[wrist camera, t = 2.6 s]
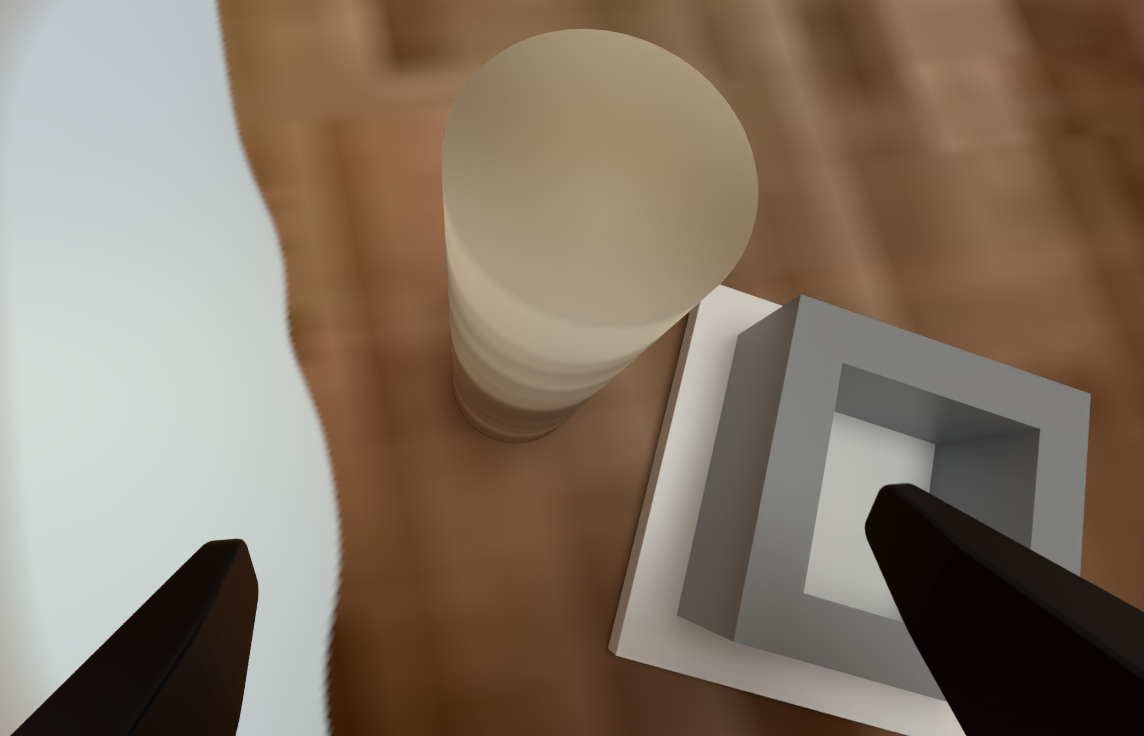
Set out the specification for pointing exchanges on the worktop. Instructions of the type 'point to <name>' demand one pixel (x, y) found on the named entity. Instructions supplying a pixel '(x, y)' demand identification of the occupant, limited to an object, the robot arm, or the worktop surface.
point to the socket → (829, 500)
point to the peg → (582, 219)
